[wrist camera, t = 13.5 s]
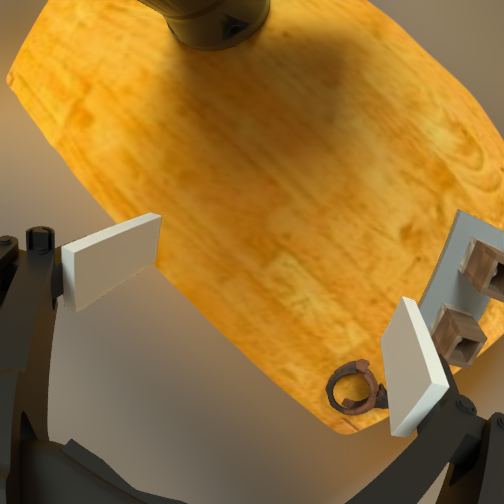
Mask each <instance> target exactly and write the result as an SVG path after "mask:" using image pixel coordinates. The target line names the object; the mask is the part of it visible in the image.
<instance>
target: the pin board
mask: <svg viewBox="0 0 504 504" xmlns="http://www.w3.org/2000/svg"><path fill="white" fill-rule="evenodd" d="M471 236H473V237H475V238H478V239H480V240H482V241H484V242H486V243H488V244H490V245H492V246H494V247H496V248H498V249H499V250H501V251H502V252H504V232H503V231H501V230H500V229H498V228H496V227H494V226H492V225H490V224H488V223H486V222H484V221H482V220H480V219H478V218H476V217H474V216H471V215H469V214H467V213H465V212H463V211H461V210H459V209H458V210H457V213H456V216H455V219H454V222H453V224H452V227H451V230H450V232H449V235H448V238H447V240H446V243H445V245H444V248H443V250H442V253H441V255H440V258H439V260H438V263H437V265H436V267H435V269H434V272H433V274H432V276H431V279H430V281H429V283H428V285H427V287H426V289H425V292H424V294H423V296H422V298H421V300H420V302H419V304H418V309H419V311H420V313H421V315H422V318H423V320H424V322H425V325H426V327H427V329H428V330H429V328H430V326H431V324H432V322H433V320H434V318H435V317H436V315H437V313H438V311H439V309H440V307H441V305H442V303H443V302H446V303H449V304H452V305H455V306H458V307H460V308H463V309H466V310H469V312H470V313H471V315H472V316H473V318H474V319H475V321H476V322H477V323H478V321H479V320H480V318H481V316H482V314H483V312H484V310H485V308H486V306H487V304H488V303H489V301H490V299H491V297H489V296H486V295H484V294H481V293H479V292H478V291H477V290H476V288H475V287H474V286H473V285H472V284H471V283H470V282H469V280H468V279H467V278H466V277H465V276H464V275H463V274H462V273H461V272H460V271H459V270H458V268H459V266H460V263H461V261H462V258H463V256H464V254H465V251H466V249H467V246H468V244H469V241H470V239H471ZM496 274H497V268H496V269H495V272H494V274H493V276H495V275H496ZM430 337H431V336H430ZM462 339H463V337H461V339H460V340H459V342H461V341H462ZM432 342H433V341H432ZM459 342H458V343H459ZM434 347H435V346H434Z"/></svg>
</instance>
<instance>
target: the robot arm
mask: <svg viewBox="0 0 504 504" xmlns="http://www.w3.org/2000/svg"><path fill="white" fill-rule="evenodd" d="M138 1H140V2H142V3H143V4H145V5H147V6H149V7H150V8H152V9H154V10H155V11H157V12H159V13H161V14H162V15H163V17H164V18H165V19H166V21H167V24H168V27H169V29H170V31H171V32H172V33H173V35H174V36H175V37H176V38H177V39H179V40H180V41H181V42H183V43H185V44H186V45H188V46H190V47H192V48H195V49H199V50H205V51H214V50H221V49H226V48H229V47H232V46H234V45H237V44H239V43H241V42H243V41H244V40H246V39H247V38H249V37H250V36H251V35H253V34H254V33H255V32H256V31H257V30H258V29H259V28H260V26H261V25H262V24H263V22H264V21H265V19H266V17H267V14H268V11H269V7H270V0H138ZM161 220H162V216H160V215H157V214H154V213H151V212H150V213H147V214H144V215H141V216H139V217H136V218H133V219H130V220H128V221H125V222H122V223H120V224H117V225H114V226H112V227H109V228H106V229H104V230H101V231H99V232H96V233H94V234H91V235H88V236H84V237H82V238H79V239H78V240H74V241H72V242H69V243H67V244H65V245H62V246H60V247H57V248H55V241H54V239H55V236H54V234H55V233H54V230H53V229H52V228H49V227H44V226H37V227H33V228H30V229H28V230H27V231H26V246H27V251H24V250H20V249H19V247H18V239H17V238H15V237H12V236H8V235H7V236H2V237H0V504H187V503H185V502H182V501H179V500H174V499H169V498H165V497H161V496H157V495H153V494H149V493H145V492H142V491H139V490H136V489H134V488H133V487H131V486H130V485H129V484H128V483H127V482H126V481H125V480H124V479H122V478H121V477H120V476H119V475H118V474H117V473H116V472H115V471H114V470H113V469H112V468H110V466H109V465H108V464H106V463H105V462H104V461H103V460H102V459H101V458H99V457H98V456H96V455H95V454H93V453H91V452H90V451H88V450H87V449H85V448H84V447H83V446H81V445H79V444H78V443H77V442H75V441H74V440H73V439H70V440H69V442H68V443H67V444H66V445H63V444H60V443H57V442H53V441H49V437H48V429H47V411H48V385H49V370H50V359H51V350H52V341H53V333H54V325H55V319H56V313H57V307H58V302H57V297H59V296H60V295H62V294H63V298H64V306H65V307H67V308H68V309H70V310H72V311H73V312H75V313H77V312H79V311H80V310H82V309H83V308H85V307H86V306H88V305H89V304H91V303H92V302H94V301H95V300H97V299H98V298H100V297H101V296H103V295H104V294H106V293H107V292H109V291H110V290H112V289H114V288H115V287H117V286H118V285H120V284H121V283H123V282H124V281H126V280H128V279H129V278H131V277H132V276H134V275H135V274H137V273H139V272H140V271H142V270H143V269H145V268H146V267H148V266H150V265H151V264H153V263H154V262H156V255H157V247H158V240H159V233H160V226H161ZM380 343H381V350H382V356H383V363H384V371H385V378H386V387H387V395H388V405H389V415H390V427H391V435H394V436H400V437H405V438H408V437H409V436H410V435H411V434H412V432H413V431H414V430H415V429H416V428H417V433H418V436H417V437H416V439H415V440H414V441H413V442H412V443H411V444H410V445H409V446H408V447H407V448H406V449H405V450H404V451H403V452H402V453H401V454H400V455H399V456H398V457H397V458H396V459H395V460H394V461H393V462H392V463H391V464H390V465H389V466H388V467H387V468H386V469H385V470H384V471H383V472H382V473H380V474H379V475H378V476H377V477H376V478H375V479H374V480H373V481H372V482H370V484H368V485H367V486H366V487H365V488H364V489H362V490H361V491H360V492H359V493H358V494H356V495H355V496H354V497H353V498H351V499H350V500H349V501H348V502H346V503H345V504H417V503H418V502H419V500H420V499H421V498H422V497H423V495H424V494H425V493H426V492H427V490H428V489H429V488H430V486H431V485H432V484H433V483H434V481H435V480H436V478H437V477H438V476H439V474H440V473H441V471H442V470H443V469H444V467H445V466H446V464H447V463H448V462H450V464H449V467H448V470H447V473H446V476H445V479H444V482H443V485H442V488H441V491H440V493H439V496H438V499H437V501H436V504H504V414H502V413H499V412H495V413H494V414H493V415H492V416H491V417H490V418H489V419H488V420H486V419H483V418H481V417H479V416H477V415H476V414H477V410H476V407H475V405H474V404H473V402H471V400H470V399H469V398H467V397H465V396H464V395H460V394H459V391H458V388H457V386H456V383H455V380H454V378H453V375H452V372H451V371H450V367H449V365H448V362H447V361H446V360H445V358H444V357H443V356H442V355H441V354H439V353H437V352H436V349H435V347H434V344H433V342H432V339H431V337H430V334H429V332H428V329H427V327H426V325H425V322H424V320H423V318H422V315H421V313H420V311H419V309H418V306H417V304H416V302H415V300H412V299H409V298H406V297H403V296H402V297H401V300H400V302H399V304H398V306H397V308H396V310H395V312H394V314H393V316H392V318H391V320H390V322H389V324H388V326H387V328H386V330H385V332H384V334H383V336H382V337H381V339H380Z"/></svg>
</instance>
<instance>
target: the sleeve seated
mask: <svg viewBox="0 0 504 504" xmlns="http://www.w3.org/2000/svg"><path fill="white" fill-rule="evenodd" d="M496 268H497V274H496V275H495V276H493V274H494V272H495V269H496ZM458 270H459V271H460V272H461V273H462V274H463V275H464V276H465V277H466V278H467V279H468V280H469V282H470V283H471V284H472V285H473V286H474V287H475V288H476V290H477V291H478V292H479V293H481V294H484V295H486V296H489V297H491V298H494V299H496V300H499V301H501V302H503V303H504V252H502V251H501V250H499V249H498V248H496V247H494V246H492V245H490V244H488V243H486V242H484V241H482V240H480V239H478V238H475V237H473V236H471V239H470V241H469V244H468V246H467V249H466V251H465V254H464V256H463V258H462V261H461V263H460V266H459V268H458Z"/></svg>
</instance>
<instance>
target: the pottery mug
mask: <svg viewBox="0 0 504 504" xmlns="http://www.w3.org/2000/svg"><path fill="white" fill-rule="evenodd" d="M369 364H370V363H369V361H367V360H363V359H360V360H358V361H352V362H349V363H347V364H345V365H343V366H341V367H339V368H338V369H337V370H335V372H334V373H335V374H333V375H331V377H330V379H329V381H328V384H327V386H326V389H325V390H326V392H327V395H328V399H329V402H330V405H331V406H332V407H333V408H335V409H336V410H338V411H339V412H342V413H343V414H346V415H360V414H363V413H366V412H368V411H369V410H371V409H372V408H382V409H386V408H388V409H389V405H388V395H387V390H386V389H385V388H384V386H383V384H382V383H381V384H380V385H379V388H378V384H377V381H376V379H375V377H374V375H373V374H372V372H371V371H370V370H369V369H367V367H368V365H369ZM357 372H360V373H362V374H364V376H363V378H364V379H365V380H366V381H367V383H368V385H369V388H370V393H369V397H367V398H366V399H363V400H361V401H353V400H349V399H347V398H345V399H344V401H343V402H342V405H344V406H346V407H348V408H344V407H342V406H340V405H339V404H338V403H337V402H336V401H335V399H334V396H333V388H334V385H335V384H336V382H337V381H338V380H339V379H340V378H342V377H343V376H346V375H350V374H357ZM376 392H377V395H376ZM349 408H350V409H349Z"/></svg>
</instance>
